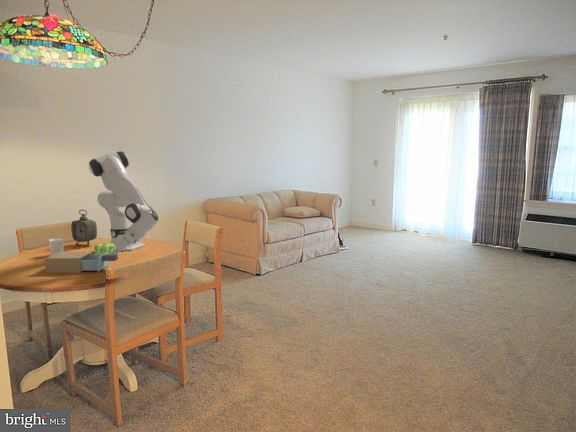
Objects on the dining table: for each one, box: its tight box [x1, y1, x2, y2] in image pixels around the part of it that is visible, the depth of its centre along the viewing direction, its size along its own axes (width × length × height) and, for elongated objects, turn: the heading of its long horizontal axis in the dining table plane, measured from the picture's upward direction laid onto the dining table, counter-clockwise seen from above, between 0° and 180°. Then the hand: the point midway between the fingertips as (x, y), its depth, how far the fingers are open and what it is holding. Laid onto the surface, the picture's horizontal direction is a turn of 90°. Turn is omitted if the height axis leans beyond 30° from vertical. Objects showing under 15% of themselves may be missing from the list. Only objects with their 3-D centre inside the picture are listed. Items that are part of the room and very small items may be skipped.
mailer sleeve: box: [44, 251, 92, 274], centre depth 223 cm, size 18×14×8 cm
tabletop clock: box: [70, 209, 98, 247], centre depth 278 cm, size 14×9×25 cm, turn 68°
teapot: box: [93, 242, 116, 255], centre depth 245 cm, size 12×12×10 cm
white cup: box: [48, 237, 65, 256], centre depth 252 cm, size 8×8×10 cm
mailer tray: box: [80, 252, 119, 273], centre depth 223 cm, size 25×14×8 cm, turn 92°
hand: (117, 251), depth 223 cm, fingers open, 8 cm apart
